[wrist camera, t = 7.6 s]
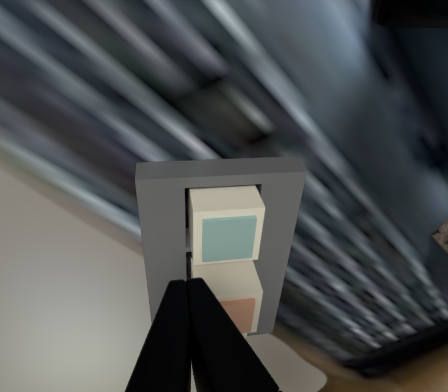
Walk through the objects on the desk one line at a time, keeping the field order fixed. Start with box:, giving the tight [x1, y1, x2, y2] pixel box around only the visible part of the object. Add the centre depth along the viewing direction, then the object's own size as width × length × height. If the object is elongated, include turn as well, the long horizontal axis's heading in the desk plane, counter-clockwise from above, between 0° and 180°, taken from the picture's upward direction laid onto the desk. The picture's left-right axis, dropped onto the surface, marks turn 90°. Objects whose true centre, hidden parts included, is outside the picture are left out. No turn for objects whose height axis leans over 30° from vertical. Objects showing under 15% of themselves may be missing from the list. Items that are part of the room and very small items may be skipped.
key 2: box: [191, 258, 263, 334], centre depth 22 cm, size 4×4×4 cm
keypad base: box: [135, 156, 307, 336], centre depth 25 cm, size 10×16×2 cm, turn 177°
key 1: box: [188, 184, 265, 265], centre depth 21 cm, size 4×4×4 cm
